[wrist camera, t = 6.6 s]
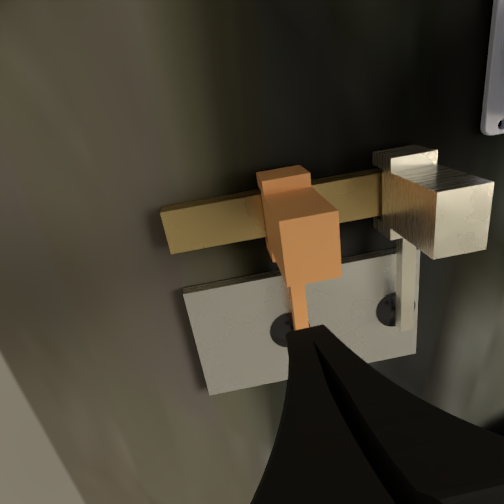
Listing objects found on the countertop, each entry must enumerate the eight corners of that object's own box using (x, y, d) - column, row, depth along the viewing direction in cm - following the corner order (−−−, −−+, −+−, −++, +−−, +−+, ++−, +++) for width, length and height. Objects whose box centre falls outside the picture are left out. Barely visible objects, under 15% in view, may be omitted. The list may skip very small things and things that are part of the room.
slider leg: (299, 164, 20) (337, 193, 14) (315, 327, 24) (348, 399, 19) (255, 172, 20) (276, 204, 14) (279, 334, 24) (302, 408, 19)
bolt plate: (413, 244, 23) (421, 249, 22) (409, 345, 26) (416, 353, 25) (183, 287, 22) (182, 295, 21) (209, 386, 26) (209, 396, 25)
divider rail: (416, 142, 20) (503, 163, 15) (411, 305, 25) (475, 372, 19) (157, 188, 20) (137, 229, 14) (199, 348, 24) (197, 430, 18)
